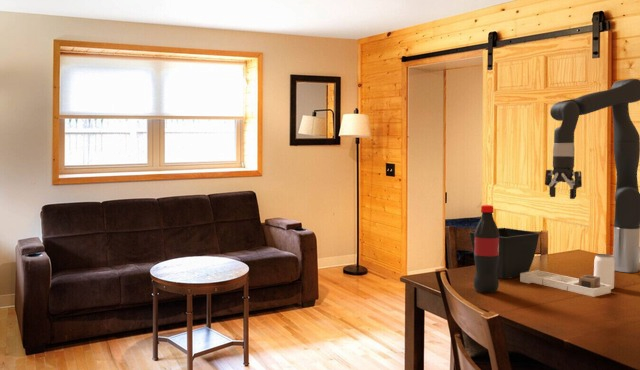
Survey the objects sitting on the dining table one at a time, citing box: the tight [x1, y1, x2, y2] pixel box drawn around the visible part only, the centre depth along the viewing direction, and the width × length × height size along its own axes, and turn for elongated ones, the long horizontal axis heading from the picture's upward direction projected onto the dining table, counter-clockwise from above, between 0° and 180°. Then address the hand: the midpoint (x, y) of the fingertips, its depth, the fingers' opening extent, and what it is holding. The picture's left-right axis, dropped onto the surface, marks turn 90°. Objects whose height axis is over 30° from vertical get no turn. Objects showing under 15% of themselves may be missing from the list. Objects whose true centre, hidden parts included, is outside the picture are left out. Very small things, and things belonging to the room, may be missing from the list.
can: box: [593, 253, 615, 290], centre depth 214 cm, size 6×6×12 cm
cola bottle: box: [473, 204, 500, 294], centre depth 212 cm, size 8×8×30 cm
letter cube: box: [578, 274, 600, 289], centre depth 208 cm, size 5×5×5 cm
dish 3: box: [567, 282, 612, 297], centre depth 208 cm, size 10×10×3 cm
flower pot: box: [469, 227, 540, 280], centre depth 238 cm, size 19×19×17 cm
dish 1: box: [519, 269, 560, 286], centre depth 225 cm, size 10×10×3 cm
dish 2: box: [542, 274, 579, 291], centre depth 217 cm, size 10×10×3 cm
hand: (562, 197), depth 233 cm, fingers open, 8 cm apart
